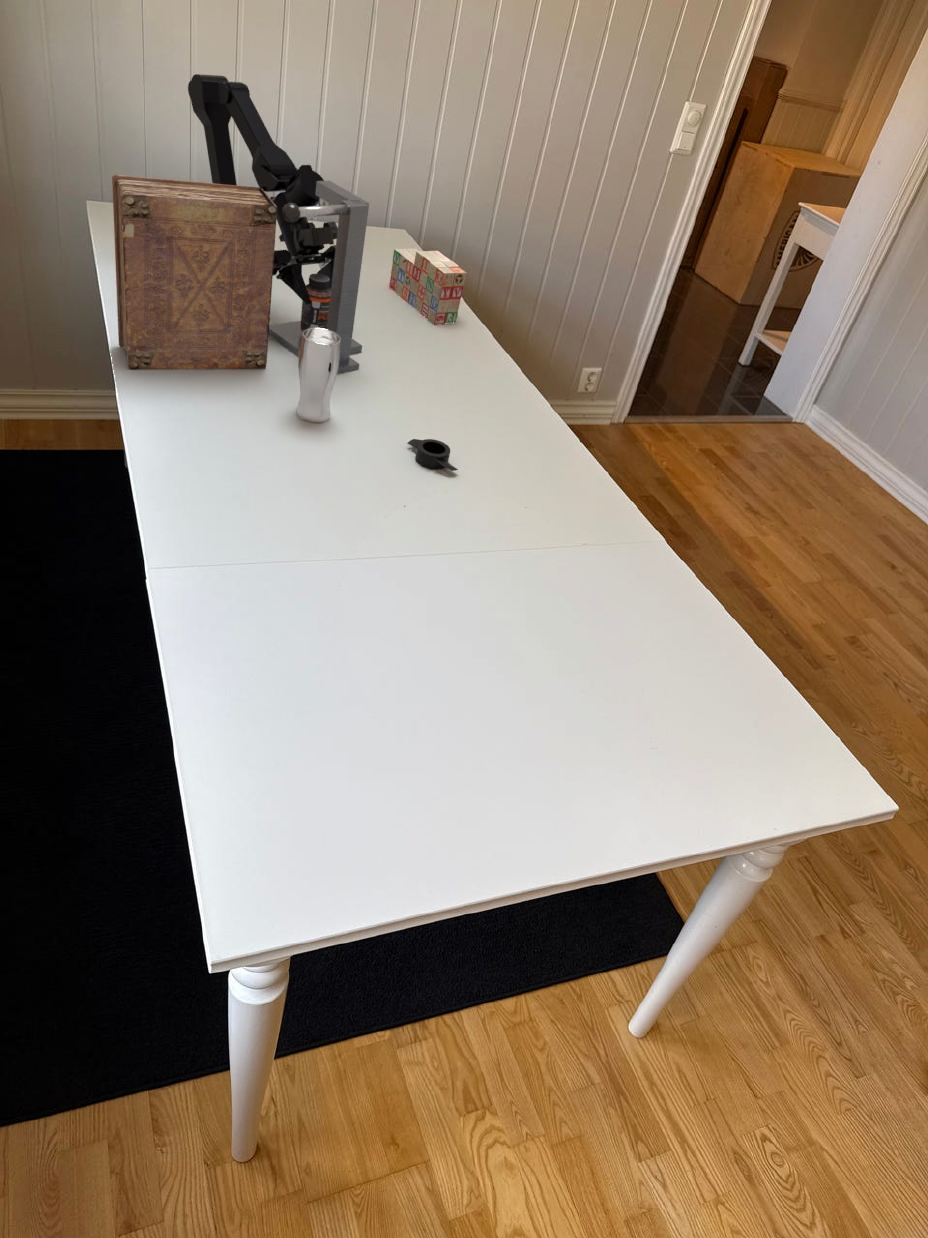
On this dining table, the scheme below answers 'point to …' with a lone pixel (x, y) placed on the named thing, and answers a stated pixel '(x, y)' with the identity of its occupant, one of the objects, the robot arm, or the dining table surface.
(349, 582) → the dining table surface
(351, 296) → the arbor press
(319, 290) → the supplement bottle
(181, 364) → the book
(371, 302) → the dining table surface
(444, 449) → the black winged ring
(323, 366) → the beer glass
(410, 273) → the stack of blocks
